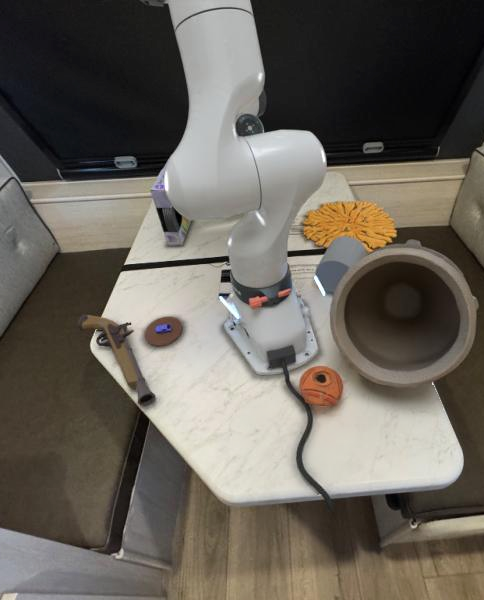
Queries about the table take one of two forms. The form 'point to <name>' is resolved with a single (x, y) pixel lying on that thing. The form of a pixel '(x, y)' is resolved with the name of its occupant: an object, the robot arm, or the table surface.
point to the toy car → (163, 331)
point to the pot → (321, 386)
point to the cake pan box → (169, 214)
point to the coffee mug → (338, 261)
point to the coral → (350, 224)
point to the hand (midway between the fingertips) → (237, 175)
